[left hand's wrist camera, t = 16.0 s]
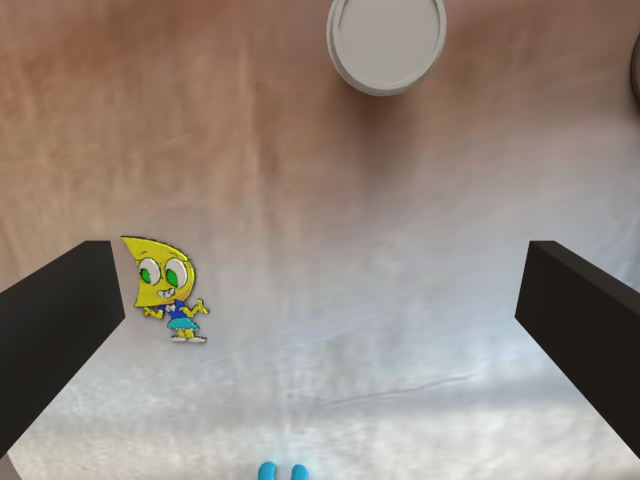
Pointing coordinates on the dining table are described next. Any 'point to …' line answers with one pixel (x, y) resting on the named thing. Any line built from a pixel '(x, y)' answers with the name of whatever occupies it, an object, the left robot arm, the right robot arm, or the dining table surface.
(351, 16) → the disposable coffee cup
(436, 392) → the dining table surface
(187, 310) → the toy
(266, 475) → the toy
